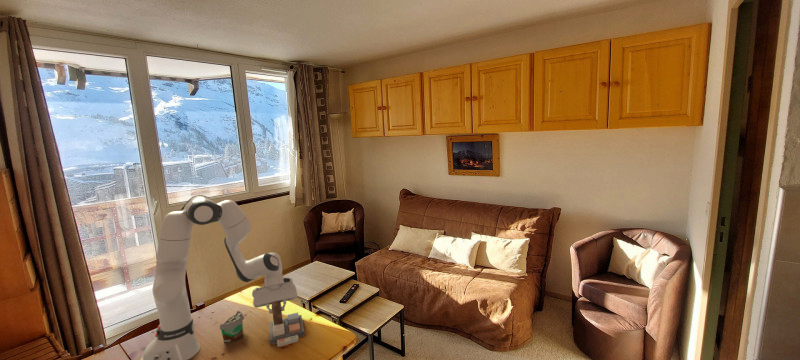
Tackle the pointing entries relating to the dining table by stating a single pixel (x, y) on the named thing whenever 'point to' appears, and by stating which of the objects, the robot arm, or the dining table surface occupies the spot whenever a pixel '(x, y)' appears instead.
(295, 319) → the key slate
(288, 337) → the keypad
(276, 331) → the key cream
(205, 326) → the dining table surface
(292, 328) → the key terracotta
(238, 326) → the food container
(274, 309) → the dark brown block
